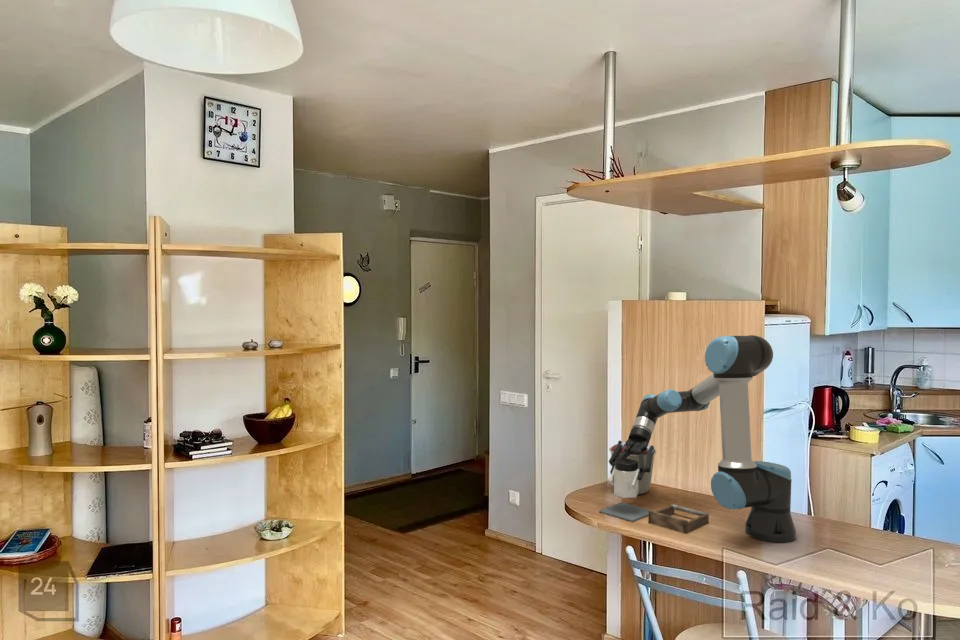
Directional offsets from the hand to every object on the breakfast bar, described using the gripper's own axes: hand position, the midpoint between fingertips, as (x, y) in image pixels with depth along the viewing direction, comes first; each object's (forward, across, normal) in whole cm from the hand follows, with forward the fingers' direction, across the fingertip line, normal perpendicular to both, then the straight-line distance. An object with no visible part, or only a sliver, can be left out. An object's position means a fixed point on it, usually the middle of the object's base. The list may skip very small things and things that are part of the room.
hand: (622, 484), depth 234 cm
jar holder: (+5, -19, -10) cm, 22 cm away
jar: (+1, 0, -6) cm, 6 cm away
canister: (-13, +9, -28) cm, 32 cm away
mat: (+5, 0, -10) cm, 11 cm away
